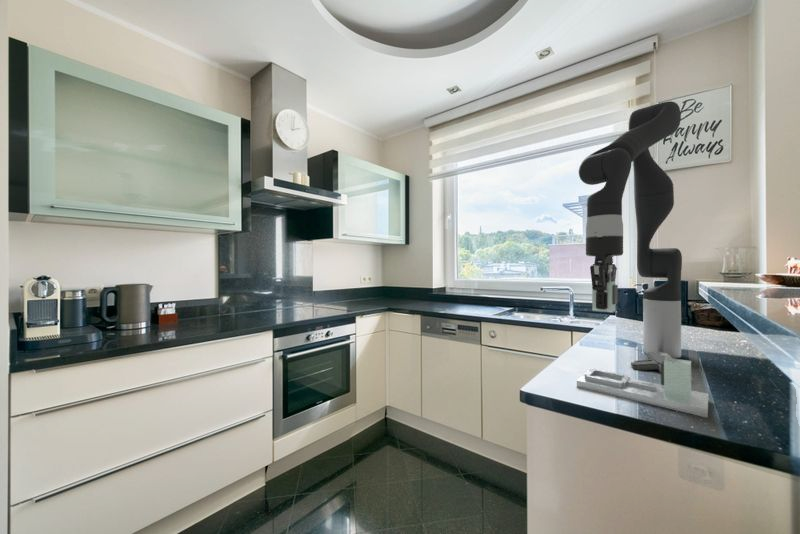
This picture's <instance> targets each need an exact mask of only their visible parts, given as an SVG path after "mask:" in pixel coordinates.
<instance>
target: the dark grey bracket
mask: <svg viewBox="0 0 800 534" xmlns="http://www.w3.org/2000/svg"><path fill="white" fill-rule="evenodd" d="M666 357H667V358H672V357H671V356H670V355H668V354H667V353H662V352H656V353H655V352H648V354H646V358H645V359H638V360H633V361H632V362H630V365H631V368H632V369H633V370H638V371H648V370H652V371H653V370H655V371H658V372H659V373H660V374H661V363H662V361H664V360H665V358H666Z"/></svg>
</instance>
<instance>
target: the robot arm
mask: <svg viewBox="0 0 800 534" xmlns="http://www.w3.org/2000/svg"><path fill="white" fill-rule="evenodd" d="M681 118H682V114H681V109H680V106H679V104H678V103H677V102H675V101H669V100H668V101H664V102H660V103H657V104H652V105H649V106H646V107H642V108H638V109H635V110H634V111H632V112H631V113H630V115H629V117H628V122H627V131H625V132H624V133H622V134H620V135H618V137H616V138H615V139H614V140H612V141H611V142H610V143H609V144H608V145H606V146H604V147H603V148H600V149H599V150H598V149H597V150H596V151H595V152H593V153H590V154H589V155H587V156H586V157H585V158H583V160H582V161H581V163H580V165H579V167H578V176H579V179H580V180H581V181H582V183H584V184H586V185H587V186H588V185H590V186H594V185H598V184H603V183H605V184H604V186H603V187H602V188H601V189H600V190H597V191H595V192H593V193H591V194H590V195H588V197H587V200H586V204H587V205H586V212H587V213H586V224H585V255H586V256H588V257H594V262H593V264H592V265H590V267H589V270H590V277H591V290H592V289H593V290H594V291H595V292H597V293H596V308H597V309H607V308H608V284H609V283H610V282H611V281H616V277H617V270H618V267H617V266H616V263H614V259H613V257H619V256H623V254H624V222H623V221H624V220H623V197H624V192H625V189H626V185H627V182H628V179H629V176H630V173H631V170H633V190H634V191H633V192H634V193H633V194H634V209H635V220H636V232H637V233H636V239H637V240H636V242H637V243H636V246H637V247H636V267H637V268H636V269H637V272H638V275H639V276H640V277H642V278H651V279H652V278H654V279H655V278H656V279H658V278H659V279H660V278H661V279H667V281H666V282H664V283H663V284H660V285H659V286H655V287H651V288H647V289H645V290H643V292H642V311H643V312H642V318H643V319H642V320H643V321H642V322H643V325H642V326H643V327H642V330H643V331H642V332H643V336H642V337H643V339H642V340H643V341H642V342H643V343H642V344H643V345H642V346H643V347H642V352H643V354H646V355H647V354H648V352H655V353H656V352H662V353H667V354H668V355H670V356H671V357H672V358H674V359H680V358H682V291H681V290H682V287H681V286H682V284H681V283H682V281H681V280H682V268H683V267H682V266H683V255H682V252H681V250H680V249H679V248H675V247H673V248H672V247H670V248H669V247H666V248H665V247H661V248H651V247H650V246H651V241H652V239H653V238H654V236H655V233H656V232H657V230H658V229H659V228H660V226H661V225H662V224H663V222H665V220H666V219H667V218H668V216H669V215H670V213H671V211H672V210H673V209H674V204H675V197H674V194H675V192H674V184H673V180H672V179H671V178H670V176H669V175H668V174H667V172H666V171H665V170H664V169H663V168H662V167H661V166H660V165H659V164H658V163H657V162H656V161H655V160H654V157H652V155H651V152H650V149H649V148H650V147H653V145H655V144H657V143H658V142H660V141H661V140H664V139H666V138H667V137H669V136H671V135H673V134H675V133H676V132H677V131H678V129H679V127H680V124H681V121H682V119H681ZM599 283H602V285H598V284H599Z"/></svg>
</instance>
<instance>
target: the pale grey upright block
mask: <svg viewBox="0 0 800 534" xmlns="http://www.w3.org/2000/svg"><path fill="white" fill-rule="evenodd" d="M598 285H602V283H599V284H598ZM618 287H619V286H618V284H616V280H615V281H611V282H610V283H609V284H608V308H607V309H597V308H596V293H597V292H595V291H594V290H593V289H592V288H591V291H592V292H591V293H592V295H591V297H592V298H591V299H592V302H591V305H592V306H591V308H592V309H591V310H592V311H594V312H605V313H607V312H608V313H613V312H616V305H618V303H619V302H618V299H619V297H618V295H619V288H618Z"/></svg>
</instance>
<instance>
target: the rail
mask: <svg viewBox="0 0 800 534" xmlns="http://www.w3.org/2000/svg"><path fill="white" fill-rule="evenodd" d="M660 375H661V376H660V383H656V382H651V381H645V380H640V379H636V378H630V376H629V375H627V374H622V373H616V372H612V371H607V370H604V369H603V370H602V369H597V368H592V369H588V370H587V371H586V372H585V373H584V374H582V375H581V376H580V377H579V378H578V379H576V387H577V388H581V389H585V390H589V391H593V392H596V393H597V392H598V393H600V394H601V393H602V394H606V395H611V396H615V397H619V398H622V399H627V400H632V401H635V402H639V403H644V404H648V405H653V406H656V407H659V408H660V407H661V408H664V409H670V410H673V411H678V412H682V413H686V414H691V415H694V416H699V417H702V418H708V416H709V415H708V414H709V393H706V392H701V391H697V390H692V360H688V359H680V358H667V357H666V358H665V360H664V361H662V363H661V373H660Z"/></svg>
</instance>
